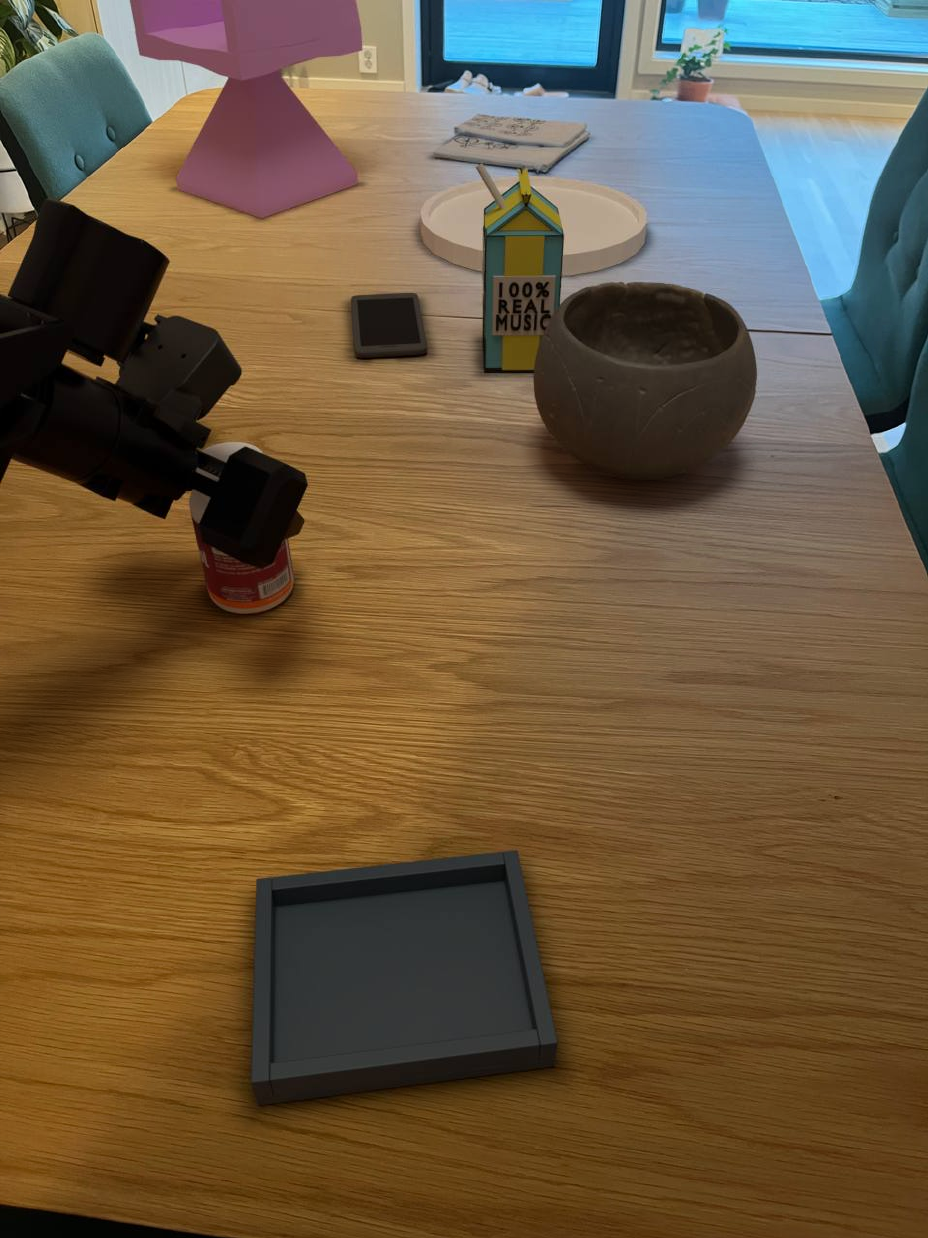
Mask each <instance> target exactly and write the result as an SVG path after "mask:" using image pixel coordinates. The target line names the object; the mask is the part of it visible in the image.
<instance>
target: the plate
mask: <svg viewBox="0 0 928 1238" xmlns="http://www.w3.org/2000/svg"><path fill="white" fill-rule="evenodd" d="M528 176H529V181H530V186H531V187H533V188H534V189H535V190H536V191H538V192H539V193H540V194H541V195H542V196H544V197H545V198H546V199H547V200H549V201H550V202H551V203H552V204H553V205H555V206H556V207H557V208H558V211H559V215H560V220H561V224H562V228H563V233H564V246H563V262H562V277H566V276H567V277H568V276H570V277H571V276H575V275H580V274H586V273H593V272H598V271H601V270H605V269H607V268H610V267H614V266H618V265H620V264H622V263H624V262H626V261H628V260H629V259H632V257H634V256H635V255H637V254H638V253H639V251H640V250H641V249H642V248H643V246H644V245H645V242H646V235H647V226H648V212H647V210H646V209H645V208H644V207H643V205H642V204H641V203H640V202H639V201H637V200H636V199H635V198H633V197H631V196H630V195H628V194H626V193H624V192H623V191H620V190H617V189H614V188H612V187H608V186H607V185H604V184H598V183H594V182H589V181H585V180H582V179H581V180H580V179H572V178H564V177H557V176H535V175H534V176H533V175H528ZM491 179H492V181H493V182H494V184H495V186H496V187H497V189H498V191H499V192H500V194H501V195H502V194H503V193H505V192H506V191H507V190H509V189H510V188H511V187H512V186H514V185H515V184H516V183H517V182H519V175H518V176H499V177H493V178H492V177H491ZM493 201H495V200H494V198H493V196H492V195H491V193H490V191H489V189H488V188H487V186H486V184H485V183H484V181H483V179H479V180H474V181H469V182H465V183H462V184H457V185H453V186H450V187H449V188H446V189H444V190H442V191H440V192H437V193H436V194H433V196H431V197H430V198H429V199H428V200H426V201H425V202H423V203H424V204H423V205H422V207H421V210H420V212H419V221H420V222H419V223H420V225H419V227H420V235H421V239H422V242H423V245H424V246H425V247H427V249H428V250H430V251H431V252H432V253H433V254H434V255H435V256H437V257H439V258H441V259H443V260H445V261H447V262H449V263H451V264H454V265H456V266H460V267H464V268H467V269H470V270H472V271H473V270H474V271H477V272H481V273H482V259H483V226H484V208H486V207H487V206H488V205H489V204H491V203H492V202H493Z"/></svg>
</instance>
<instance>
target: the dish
mask: <svg viewBox="0 0 928 1238" xmlns="http://www.w3.org/2000/svg"><path fill="white" fill-rule="evenodd" d="M255 880H256V881H255V917H254V921H255V922H254V953H253V954H254V956H253V957H254V958H253V988H252V989H253V990H252V991H253V993H252V1028H251V1029H252V1031H251V1034H252V1035H251V1069H250V1070H251V1071H250V1083H251V1087H252V1091H253V1093H254V1096H255V1100H256V1103H257V1105H258V1106H264V1105H265V1106H266V1105H271V1104H272V1105H273V1104H281V1103H287V1102H294V1101H301V1100H310V1099H318V1098H326V1097H332V1096H333V1097H334V1096H341V1095H346V1094H347V1095H349V1094H355V1093H362V1092H370V1091H371V1092H372V1091H378V1090H385V1089H392V1088H393V1089H394V1088H400V1087H401V1088H402V1087H409V1086H416V1085H424V1084H432V1083H438V1082H446V1081H452V1080H453V1081H454V1080H461V1079H468V1078H475V1077H477V1078H478V1077H484V1076H492V1075H498V1074H506V1073H507V1074H508V1073H514V1072H521V1071H522V1072H523V1071H528V1070H537V1069H545V1068H551V1067H552V1068H553V1067H555V1066H556V1058H557V1050H558V1037H557V1032H556V1027H555V1023H554V1019H553V1014H552V1009H551V1004H550V999H549V994H548V989H547V984H546V980H545V976H544V972H543V971H544V970H543V966H542V961H541V956H540V952H539V947H538V942H537V938H536V932H535V927H534V922H533V918H532V913H531V909H530V903H529V899H528V898H529V897H528V893H527V889H526V886H525V885H526V884H525V879H524V875H523V870H522V864H521V860H520V855H519V850H518V849H513V850H505V851H497V852H496V851H495V852H487V853H479V854H469V855H460V856H450V857H442V858H433V859H425V860H424V859H423V860H415V861H407V862H406V861H405V862H396V863H388V864H387V863H386V864H379V865H370V866H361V867H352V868H343V869H335V870H333V869H332V870H324V871H315V872H307V873H297V874H288V875H280V876H271V877H269V876H268V877H262V878H260V877H259V878H256V879H255Z"/></svg>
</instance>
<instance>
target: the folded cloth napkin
mask: <svg viewBox="0 0 928 1238" xmlns="http://www.w3.org/2000/svg"><path fill="white" fill-rule="evenodd" d="M587 127H588V126H587V123H578V122H569V121H561V120H546V119H545V120H544V119H534V118H525V117H517V116H515V117H512V116H496V115H487V114H483V113H482V114H480V113H479V114H476V115H475V116H473V117H472V118H469V119H468V120H466V121H464V122H462V123H460V124H458V125H457V126H454V127H453V134H454V136H452V137H451V138H449V142H447V143H446V144H444V145H443V146H442V147H439V148H437V149H435V150H434V151H433V157H434V158H443V159H444V158H445V159H451V160H455V161H462V162H469V163H476V164H481V163H482V164H487V165H495V166H503V167H510V168H511V167H513V168H518V169H521V170H522V171H523V170H525V169H526V168H527V170H528V171H529V170H535V171H536V173H537V174H539V172H543V173H547V172H548V170H549V169H550V168H551V167H552V166H554V164H555V163H556V162H557V161H559V160H561V158H563V157H564V156H565V155H566V154H569V152H571V151H573V150H574V149H576V148H577V146H579V145H581V143H582V142H584V141H586V140H588V138H589V136H590V135H591V131H588V130H586V129H587Z"/></svg>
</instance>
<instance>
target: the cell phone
mask: <svg viewBox="0 0 928 1238" xmlns="http://www.w3.org/2000/svg"><path fill="white" fill-rule="evenodd" d="M350 310H351V311H350V312H351V325H352V339H353V340H352V341H353V350H354V351H353V352H354V356H355V357H357V358H360V359H361V358H363V359H365V358H366V359H367V358H383V357H387V358H388V357H403V356H405V357H406V356H420V355H424V354H426V353H428V342H427V336H426V332H425V331H426V330H425V327H424V326H425V325H424V320H423V315H422V311H421V304H420V299H419V296H418V293H416V292H393V293H392V292H391V293H375V294H373V293H372V294H357V295H352V296H351V298H350Z"/></svg>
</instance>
